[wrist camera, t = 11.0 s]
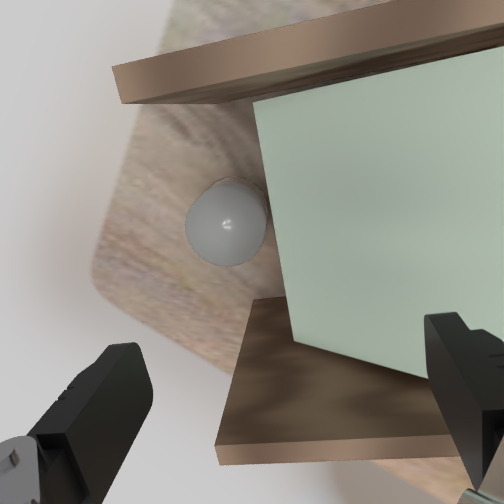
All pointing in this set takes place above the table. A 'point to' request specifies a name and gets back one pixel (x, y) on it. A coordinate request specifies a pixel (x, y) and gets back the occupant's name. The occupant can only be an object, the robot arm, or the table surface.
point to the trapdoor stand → (276, 309)
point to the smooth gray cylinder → (228, 222)
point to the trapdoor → (390, 205)
